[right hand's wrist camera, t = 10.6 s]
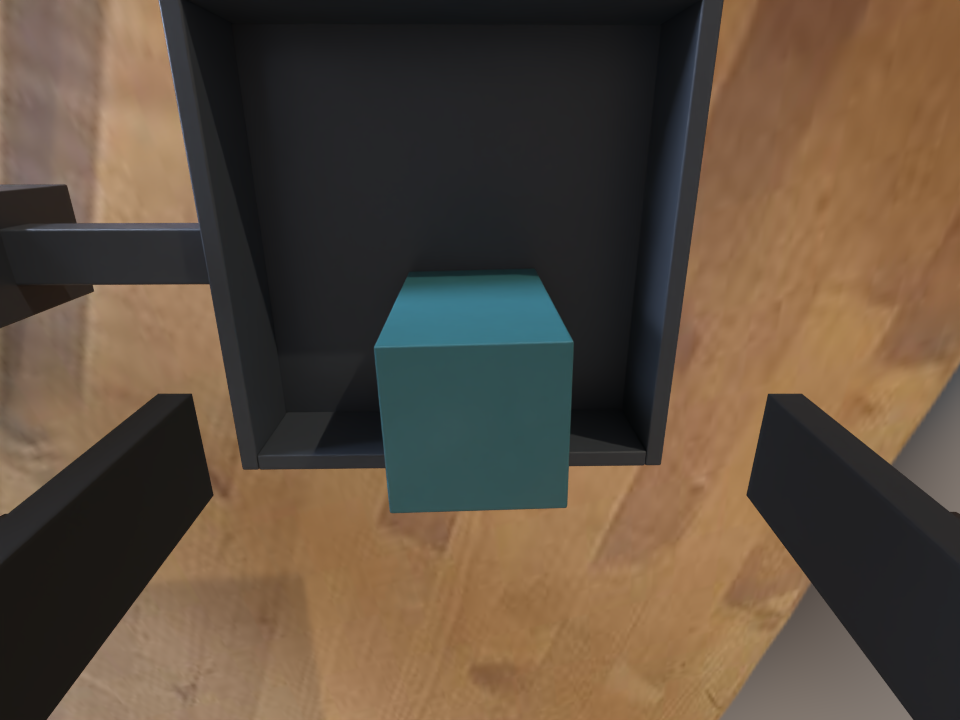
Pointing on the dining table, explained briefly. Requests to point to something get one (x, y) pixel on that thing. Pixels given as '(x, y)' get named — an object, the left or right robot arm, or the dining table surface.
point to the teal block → (475, 393)
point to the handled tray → (410, 199)
